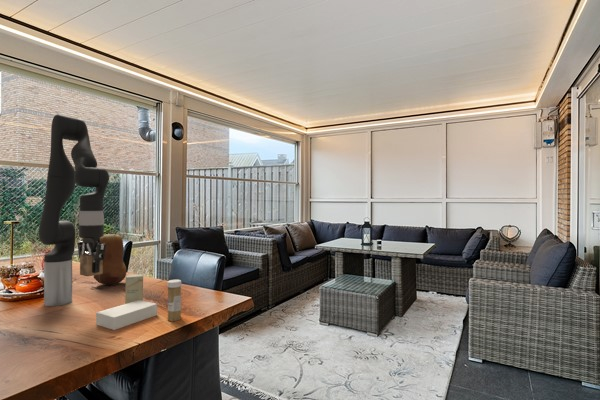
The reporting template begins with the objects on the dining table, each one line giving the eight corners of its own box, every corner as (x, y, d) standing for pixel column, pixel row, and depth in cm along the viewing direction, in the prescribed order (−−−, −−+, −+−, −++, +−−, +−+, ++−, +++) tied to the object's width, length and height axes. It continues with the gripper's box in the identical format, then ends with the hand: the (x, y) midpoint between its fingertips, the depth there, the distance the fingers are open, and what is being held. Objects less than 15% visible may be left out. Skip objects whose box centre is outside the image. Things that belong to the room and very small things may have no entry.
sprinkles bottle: (164, 319, 116) (164, 280, 116) (177, 316, 119) (177, 278, 119) (171, 322, 112) (171, 282, 113) (183, 319, 116) (183, 280, 116)
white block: (96, 324, 111) (96, 312, 111) (139, 310, 125) (139, 299, 125) (114, 330, 106) (114, 317, 106) (157, 314, 120) (157, 303, 120)
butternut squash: (121, 279, 174) (120, 232, 174) (130, 284, 164) (130, 233, 164) (90, 284, 164) (90, 234, 164) (98, 289, 154) (98, 236, 154)
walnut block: (79, 274, 116) (80, 254, 116) (94, 272, 121) (94, 252, 121) (87, 276, 114) (88, 256, 114) (102, 273, 118) (102, 254, 118)
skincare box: (125, 309, 126) (125, 277, 126) (125, 306, 130) (125, 275, 130) (143, 307, 129) (143, 275, 129) (143, 303, 133) (142, 273, 133)
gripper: (114, 223, 117) (113, 272, 117) (91, 222, 124) (90, 267, 124) (92, 225, 111) (91, 276, 111) (69, 223, 118) (68, 271, 118)
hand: (91, 271), depth 117 cm, fingers closed on walnut block, 5 cm apart
